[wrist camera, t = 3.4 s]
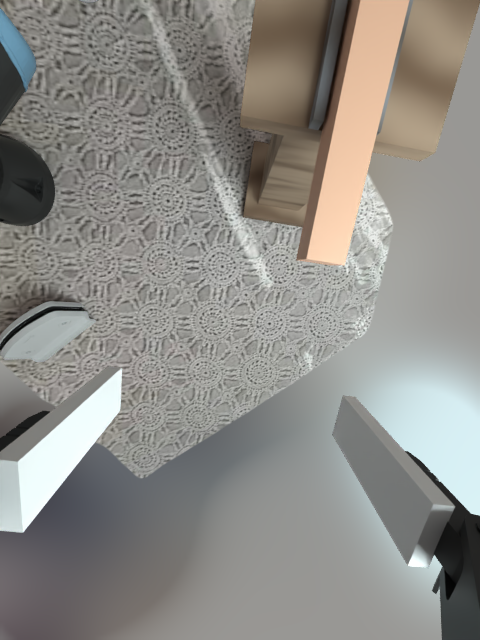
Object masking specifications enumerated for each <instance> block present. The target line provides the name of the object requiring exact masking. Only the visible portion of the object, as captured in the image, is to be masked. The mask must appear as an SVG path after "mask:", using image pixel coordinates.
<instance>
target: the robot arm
mask: <svg viewBox="0 0 480 640" xmlns="http://www.w3.org/2000/svg"><path fill="white" fill-rule="evenodd" d="M35 71H36V60H35V57H34V54H33V52H32V50H31V48H30V47H29V45H28V44H27V42H26V41H25V39H24V38H23V36H22V35H21V34H20V32H19V31H18V30H17V28H16V27H15V26H14V24H13V23H12V22H11V21H10V19H9V18H8V17H7V16H6V14H5V13H4V12H3V11H2V9H1V8H0V125H1V124H2V122H3V121H4V120H5V118H6V117H7V115H8V114H9V113H10V111H11V110H12V108H13V107H14V106H15V104H16V103H17V102H18V100H19V99H20V97H21V96H22V95H23V93H24V92H26V91H27V89H28V84H29V82H30V80H31V78H32V76H33V75H34V73H35ZM54 197H55V187H54V181H53V177H52V175H51V172H50V170H49V168H48V166H47V165H46V163H45V162H44V160H43V159H42V158H41V157H40V156H39V155H38V154H37V153H36V152H35V151H34V150H33V149H31V148H30V147H28V146H26V145H25V144H23V143H21V142H19V141H18V140H16V139H14V138H11V137H9V136H6V135H1V134H0V222H2V223H6V224H11V225H16V226H29V225H33V224H36V223H38V222H40V221H41V220H43V219H44V218H45V217H46V216H47V215H48V213H49V212H50V210H51V208H52V206H53V203H54ZM121 379H122V368H120V367H112V366H108V367H107V368H105V369H104V370H103V371H101V372H100V373H99V374H98V375H96V376H95V377H94V378H93V379H91V380H90V381H89V382H88V383H86V384H85V385H84V386H83V387H81V388H80V389H79V390H77V391H76V392H75V393H74V394H72V395H71V396H70V397H69V398H67V399H66V400H65V401H64V402H62V403H61V404H60V405H59V406H57V407H56V408H55V409H54V410H52V411H51V412H49V411H42V412H40V413H38V414H35V415H33V416H31V417H29V418H27V419H26V420H24V421H23V422H22V423H21V424H19V425H18V426H17V427H16V428H14V429H12V430H11V431H9V432H8V433H7V434H6V436H3V437H1V438H0V531H12V532H24V531H25V529H26V528H27V527H28V525H29V524H30V523H31V522H32V520H33V519H34V518H35V517H36V516H37V514H38V513H39V512H40V510H41V509H42V508H43V507H44V505H45V504H46V503H47V501H48V500H49V499H50V498H51V497H52V495H53V494H54V493H55V492H56V490H57V489H58V488H59V486H60V485H61V484H62V483H63V482H64V480H65V479H66V478H67V477H68V475H69V474H70V473H71V471H72V470H73V469H74V468H75V466H76V465H77V464H78V463H79V461H80V460H81V459H82V458H83V456H84V455H85V454H86V453H87V451H88V450H89V448H91V446H92V445H93V444H94V443H95V441H96V440H97V439H98V437H99V436H100V435H101V434H102V432H103V431H104V430H105V429H106V427H107V426H108V425H109V424H110V422H111V421H112V420H113V419H114V417H115V416H116V415H117V414H118V412H119V411H120V405H121ZM332 435H333V437H334V439H335V440H336V442H337V444H338V445H339V447H340V449H341V451H342V452H343V454H344V456H345V458H346V459H347V461H348V463H349V465H350V466H351V468H352V470H353V471H354V473H355V475H356V477H357V478H358V480H359V482H360V484H361V485H362V487H363V489H364V491H365V492H366V494H367V496H368V498H369V499H370V501H371V503H372V504H373V506H374V508H375V510H376V511H377V513H378V515H379V517H380V518H381V520H382V522H383V524H384V525H385V527H386V529H387V530H388V532H389V534H390V536H391V538H392V539H393V541H394V543H395V544H396V546H397V548H398V549H399V551H400V553H401V555H402V556H403V558H404V560H405V562H406V563H407V565H408V566H416V567H426V568H428V567H429V565H430V562H431V560H432V558H433V556H434V555H435V556H436V558H437V559H438V561H439V562H440V563H441V565H442V566H443V567H442V569H441V571H440V573H439V575H438V578H437V580H436V582H435V584H434V587H433V590H432V591H433V592H434V593H435V594H436V593H437V591H438V589H440V601H441V624H442V625H441V626H442V640H480V516H478V515H474V514H471V513H470V512H469V511H468V510H467V509H466V508H465V507H464V506H463V505H462V504H461V503H460V502H459V501H458V500H457V499H456V498H455V496H454V495H453V494H452V493H451V492H450V491H449V490H448V489H447V488H446V487H445V486H444V485H443V484H442V483H441V482H439V481H438V479H437V478H436V476H435V475H434V474H433V473H431V472H430V470H429V469H428V468H427V467H426V466H425V465H424V464H423V463H422V462H421V461H420V460H419V459H417V458H416V457H414V456H413V455H412V454H411V453H409V452H408V451H404V450H403V449H402V448H401V447H400V446H399V444H398V443H397V442H396V441H395V440H394V439H393V438H392V437H391V436H390V435H389V434H388V433H387V431H386V430H385V429H384V428H383V427H382V426H381V425H380V424H379V423H378V421H377V420H376V419H375V418H374V417H373V416H372V415H371V414H370V413H369V412H368V411H367V409H366V408H365V407H364V406H363V405H362V404H361V403H360V402H359V401H358V400H357V399H356V397H351V396H343V397H342V401H341V405H340V408H339V412H338V415H337V419H336V423H335V427H334V430H333V434H332Z"/></svg>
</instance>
